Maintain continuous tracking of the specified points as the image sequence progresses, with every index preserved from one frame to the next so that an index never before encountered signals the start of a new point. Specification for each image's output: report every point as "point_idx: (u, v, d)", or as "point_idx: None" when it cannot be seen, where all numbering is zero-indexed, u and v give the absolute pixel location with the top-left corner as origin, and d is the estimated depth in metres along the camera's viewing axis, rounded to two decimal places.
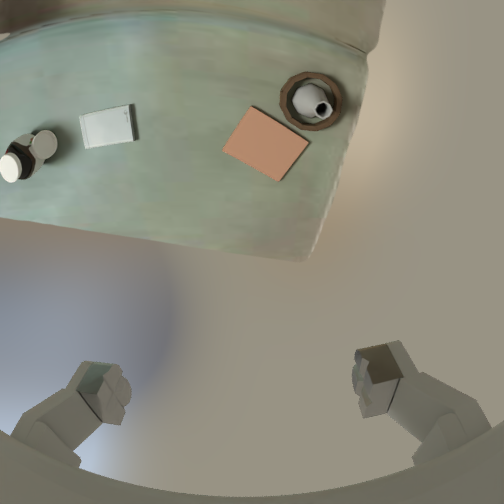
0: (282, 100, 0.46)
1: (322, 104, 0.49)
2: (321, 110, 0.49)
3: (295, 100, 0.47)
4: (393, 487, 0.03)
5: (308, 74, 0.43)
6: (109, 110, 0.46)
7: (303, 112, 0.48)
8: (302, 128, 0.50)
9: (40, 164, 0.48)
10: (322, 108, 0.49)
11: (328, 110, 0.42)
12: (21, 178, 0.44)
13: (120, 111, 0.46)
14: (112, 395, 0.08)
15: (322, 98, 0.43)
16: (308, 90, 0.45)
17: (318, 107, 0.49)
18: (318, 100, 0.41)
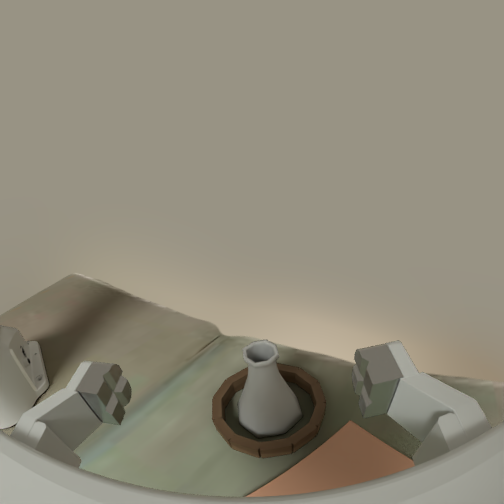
0: (246, 444, 0.22)
1: None
2: None
3: (257, 427, 0.24)
4: (393, 486, 0.03)
5: (217, 396, 0.28)
6: None
7: (282, 416, 0.24)
8: (315, 424, 0.23)
9: None
10: None
11: (267, 351, 0.25)
12: None
13: None
14: (112, 395, 0.08)
15: None
16: (242, 400, 0.26)
17: None
18: (248, 368, 0.25)
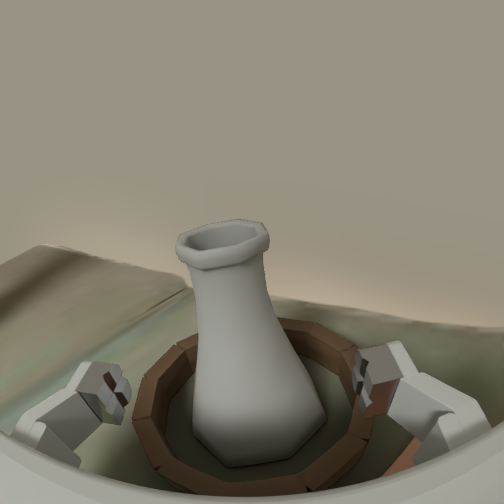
0: (193, 485, 0.08)
1: None
2: None
3: (224, 446, 0.10)
4: (393, 487, 0.03)
5: (151, 374, 0.14)
6: None
7: (282, 421, 0.10)
8: (363, 435, 0.09)
9: None
10: None
11: None
12: None
13: None
14: (112, 395, 0.08)
15: None
16: None
17: None
18: None
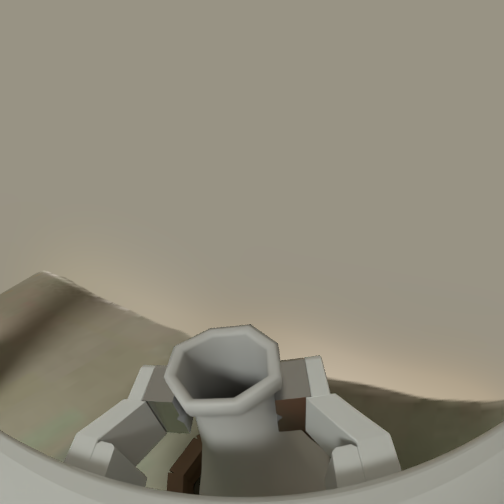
0: None
1: None
2: None
3: None
4: (393, 486, 0.03)
5: (176, 470, 0.12)
6: None
7: None
8: None
9: None
10: None
11: (255, 360, 0.08)
12: None
13: None
14: None
15: None
16: None
17: None
18: None
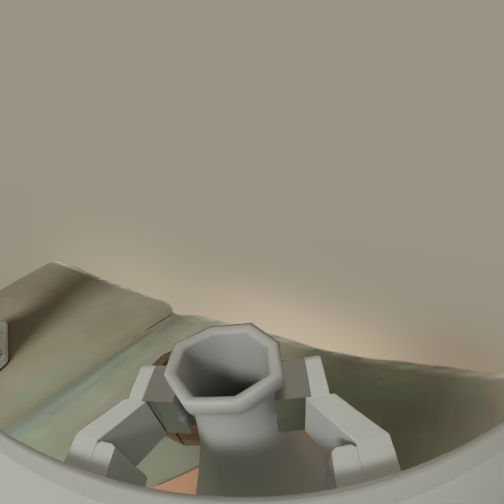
0: None
1: None
2: None
3: None
4: (393, 486, 0.03)
5: None
6: None
7: None
8: None
9: None
10: None
11: (255, 359, 0.08)
12: None
13: None
14: None
15: None
16: None
17: None
18: None
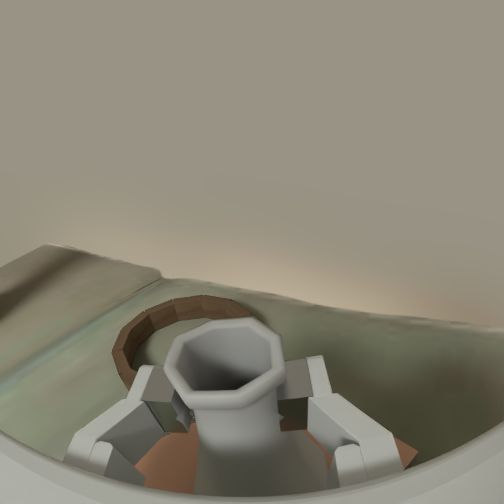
0: None
1: None
2: None
3: None
4: (393, 486, 0.03)
5: (126, 327, 0.23)
6: None
7: None
8: None
9: None
10: None
11: (256, 353, 0.08)
12: None
13: None
14: (180, 401, 0.07)
15: None
16: None
17: None
18: None
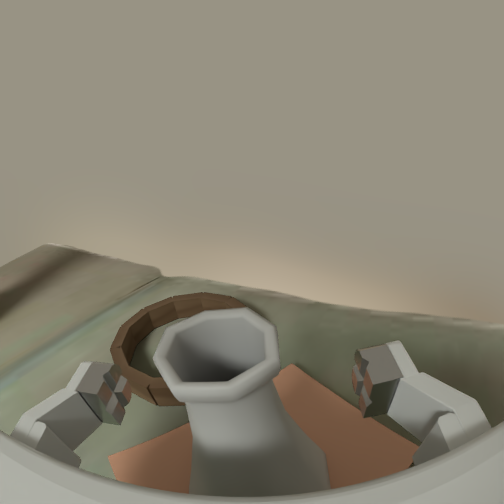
0: (135, 379, 0.16)
1: None
2: None
3: None
4: (393, 486, 0.03)
5: (125, 325, 0.23)
6: None
7: None
8: None
9: None
10: None
11: (251, 346, 0.08)
12: None
13: None
14: (112, 395, 0.08)
15: None
16: None
17: None
18: None
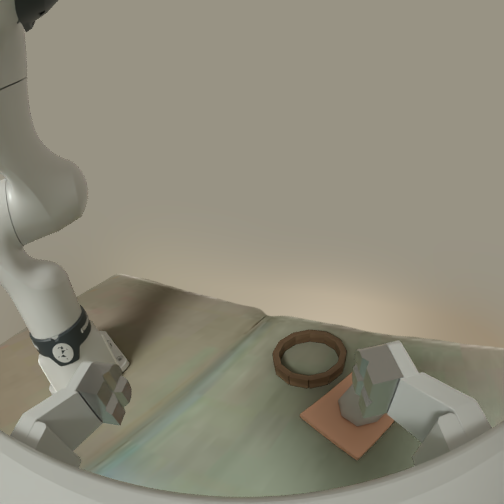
0: (300, 377, 0.38)
1: None
2: None
3: (358, 417, 0.29)
4: (393, 486, 0.03)
5: (275, 352, 0.45)
6: None
7: None
8: (341, 363, 0.40)
9: None
10: None
11: None
12: None
13: None
14: (112, 395, 0.08)
15: None
16: (347, 397, 0.32)
17: None
18: None
